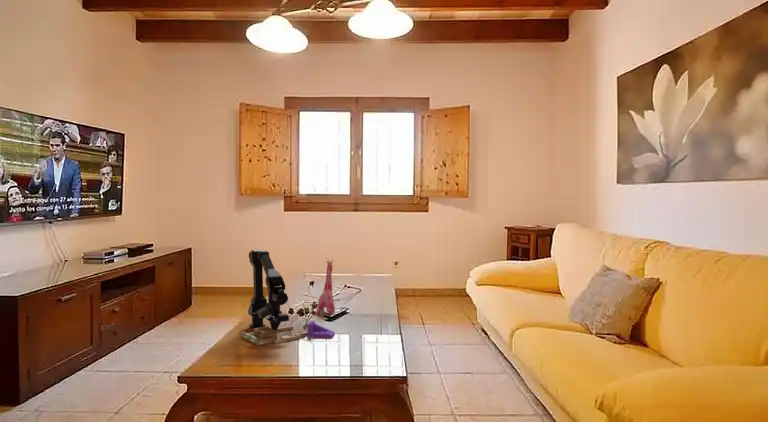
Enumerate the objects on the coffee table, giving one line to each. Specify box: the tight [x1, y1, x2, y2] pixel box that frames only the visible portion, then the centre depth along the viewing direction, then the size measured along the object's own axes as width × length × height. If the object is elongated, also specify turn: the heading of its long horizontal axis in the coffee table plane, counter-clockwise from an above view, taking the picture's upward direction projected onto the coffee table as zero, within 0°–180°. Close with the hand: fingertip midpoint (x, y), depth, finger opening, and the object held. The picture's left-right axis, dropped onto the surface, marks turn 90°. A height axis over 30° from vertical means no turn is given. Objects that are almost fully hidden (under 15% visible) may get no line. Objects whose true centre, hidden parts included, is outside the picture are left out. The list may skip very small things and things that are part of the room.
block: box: [253, 325, 278, 340], centre depth 278 cm, size 10×7×4 cm
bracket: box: [307, 320, 336, 339], centre depth 284 cm, size 12×7×7 cm, turn 85°
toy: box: [316, 258, 336, 316], centre depth 334 cm, size 9×26×30 cm, turn 174°
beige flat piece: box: [241, 325, 308, 346], centre depth 281 cm, size 19×28×2 cm
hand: (274, 332), depth 281 cm, fingers closed
